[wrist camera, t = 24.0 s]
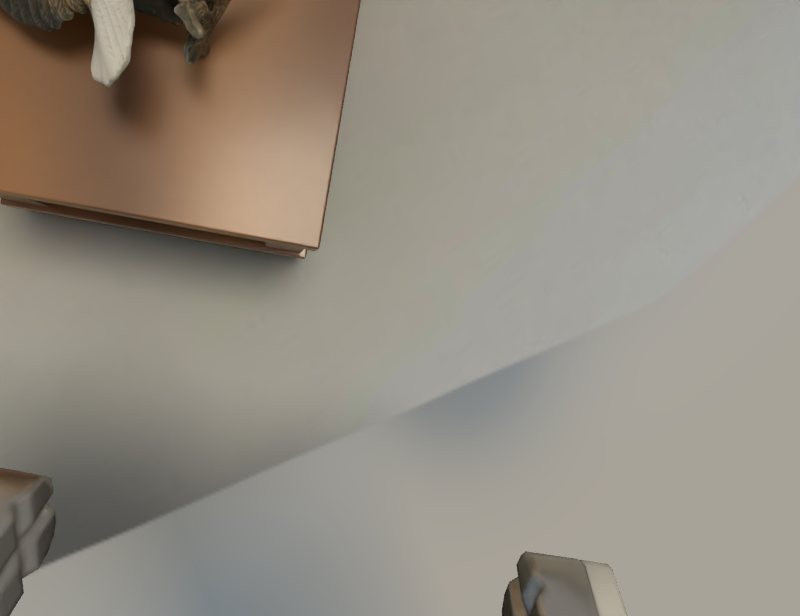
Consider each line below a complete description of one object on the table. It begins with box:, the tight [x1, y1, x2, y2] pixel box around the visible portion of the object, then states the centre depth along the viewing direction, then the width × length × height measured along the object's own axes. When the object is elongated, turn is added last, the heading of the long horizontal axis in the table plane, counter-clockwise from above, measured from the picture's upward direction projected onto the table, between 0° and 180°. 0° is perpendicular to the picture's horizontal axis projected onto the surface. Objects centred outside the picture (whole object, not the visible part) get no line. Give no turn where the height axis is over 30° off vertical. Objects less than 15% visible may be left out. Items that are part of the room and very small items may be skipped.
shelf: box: [0, 0, 361, 259], centre depth 24 cm, size 12×16×10 cm
